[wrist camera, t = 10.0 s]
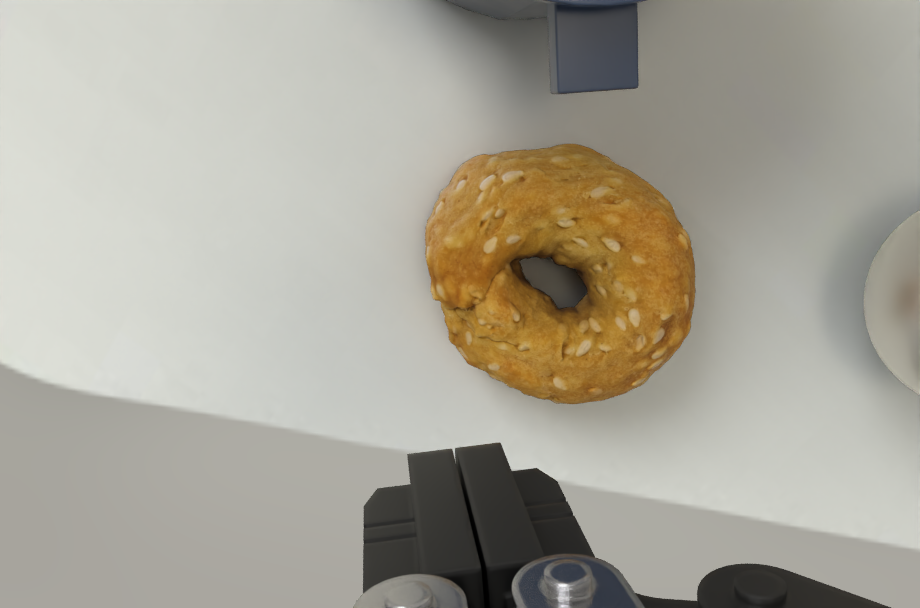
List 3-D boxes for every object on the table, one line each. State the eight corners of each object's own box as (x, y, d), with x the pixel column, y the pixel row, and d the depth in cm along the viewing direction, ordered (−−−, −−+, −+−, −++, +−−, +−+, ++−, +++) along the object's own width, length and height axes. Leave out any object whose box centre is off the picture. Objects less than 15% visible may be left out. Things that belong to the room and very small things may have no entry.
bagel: (538, 78, 32) (570, 75, 27) (716, 267, 35) (772, 293, 30) (363, 262, 33) (365, 289, 28) (551, 432, 36) (580, 482, 31)
